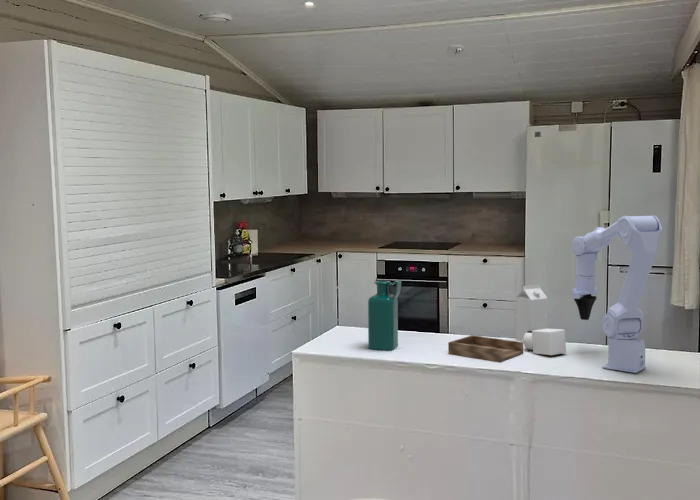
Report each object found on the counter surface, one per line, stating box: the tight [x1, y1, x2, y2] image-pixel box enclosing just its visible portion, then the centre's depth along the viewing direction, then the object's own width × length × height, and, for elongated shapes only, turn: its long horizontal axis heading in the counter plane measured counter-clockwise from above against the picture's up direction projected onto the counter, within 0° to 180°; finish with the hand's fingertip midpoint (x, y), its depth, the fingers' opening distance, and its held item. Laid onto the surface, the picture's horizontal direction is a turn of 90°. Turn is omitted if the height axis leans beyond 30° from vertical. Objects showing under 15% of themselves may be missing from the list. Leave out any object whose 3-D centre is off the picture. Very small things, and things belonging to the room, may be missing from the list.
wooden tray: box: [447, 335, 524, 363], centre depth 217 cm, size 18×14×4 cm
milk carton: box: [515, 284, 548, 342], centre depth 233 cm, size 7×7×19 cm
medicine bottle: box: [522, 328, 567, 356], centre depth 218 cm, size 7×7×12 cm
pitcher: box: [367, 279, 402, 352], centre depth 226 cm, size 10×8×22 cm
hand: (584, 319), depth 217 cm, fingers closed
